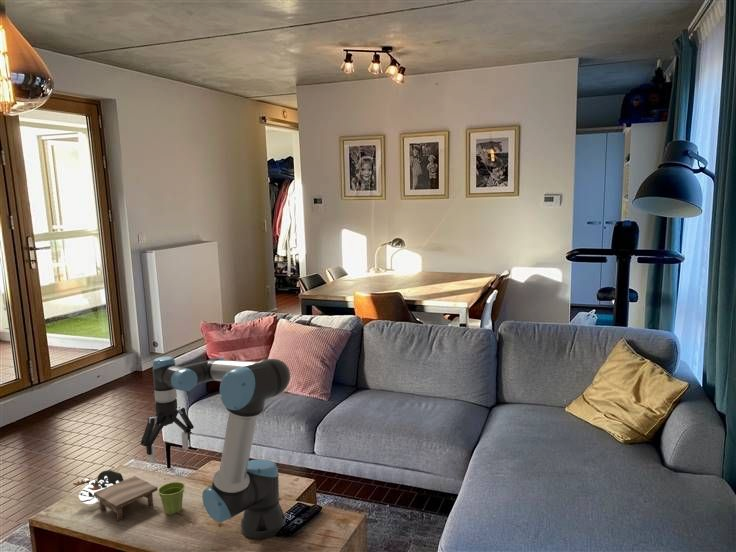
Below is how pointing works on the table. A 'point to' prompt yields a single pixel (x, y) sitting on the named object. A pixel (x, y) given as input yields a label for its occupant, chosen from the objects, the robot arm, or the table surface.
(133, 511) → the table surface
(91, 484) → the figurine
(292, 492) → the table surface
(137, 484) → the footstool
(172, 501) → the plant pot
